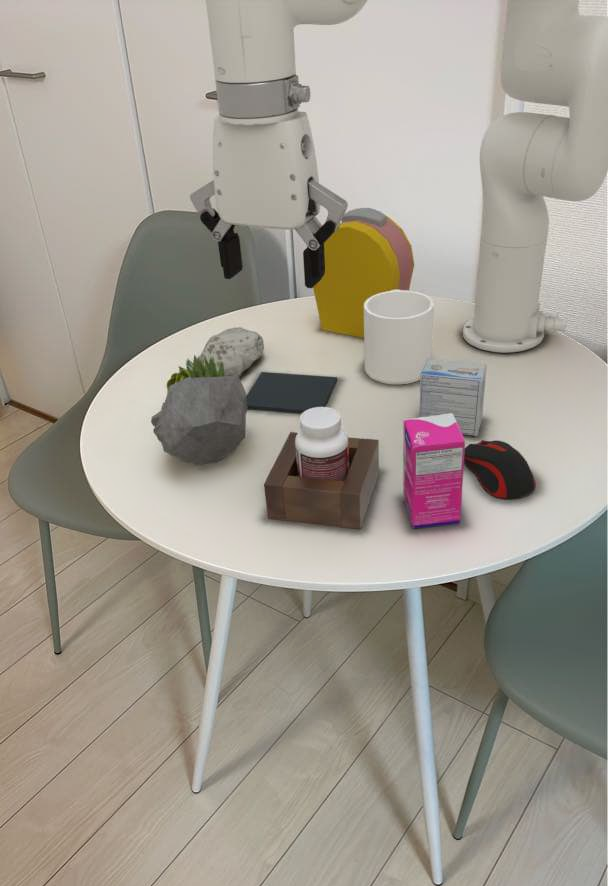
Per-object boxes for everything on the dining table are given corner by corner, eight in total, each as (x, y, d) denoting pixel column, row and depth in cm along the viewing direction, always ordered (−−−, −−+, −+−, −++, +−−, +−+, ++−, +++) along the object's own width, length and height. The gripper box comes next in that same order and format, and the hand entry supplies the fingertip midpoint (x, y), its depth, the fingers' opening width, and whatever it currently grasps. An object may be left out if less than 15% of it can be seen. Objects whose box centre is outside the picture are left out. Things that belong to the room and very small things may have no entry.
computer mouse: (496, 445, 97) (499, 418, 95) (545, 491, 89) (550, 463, 87) (453, 457, 96) (455, 430, 93) (498, 504, 88) (501, 477, 86)
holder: (378, 473, 95) (378, 439, 91) (360, 529, 86) (359, 494, 83) (293, 464, 97) (290, 431, 94) (267, 518, 89) (263, 484, 86)
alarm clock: (414, 323, 126) (417, 209, 114) (392, 343, 121) (393, 226, 109) (336, 309, 133) (332, 199, 121) (313, 328, 128) (305, 215, 116)
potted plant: (143, 464, 94) (124, 382, 102) (224, 489, 102) (201, 412, 110) (198, 399, 87) (173, 317, 95) (279, 431, 96) (250, 354, 104)
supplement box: (401, 499, 90) (402, 417, 83) (449, 494, 90) (455, 411, 83) (410, 530, 86) (412, 445, 78) (461, 524, 86) (469, 439, 78)
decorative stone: (202, 349, 124) (197, 321, 121) (267, 347, 123) (264, 318, 120) (189, 386, 115) (183, 357, 112) (259, 384, 114) (256, 354, 111)
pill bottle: (360, 497, 91) (358, 419, 84) (318, 517, 89) (313, 438, 81) (331, 474, 95) (327, 397, 88) (290, 492, 93) (282, 415, 86)
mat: (337, 380, 113) (337, 377, 113) (321, 415, 106) (321, 411, 106) (262, 375, 116) (261, 371, 116) (241, 408, 109) (240, 404, 109)
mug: (434, 383, 111) (437, 317, 104) (366, 386, 111) (364, 321, 105) (425, 345, 120) (428, 281, 113) (363, 348, 121) (361, 285, 114)
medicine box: (482, 420, 102) (488, 362, 96) (477, 438, 99) (482, 379, 93) (424, 414, 104) (427, 356, 99) (417, 430, 101) (419, 372, 96)
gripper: (357, 92, 70) (359, 274, 81) (197, 90, 76) (219, 259, 87) (327, 109, 65) (334, 301, 76) (158, 106, 71) (187, 284, 82)
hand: (273, 278), depth 82 cm, fingers open, 9 cm apart
